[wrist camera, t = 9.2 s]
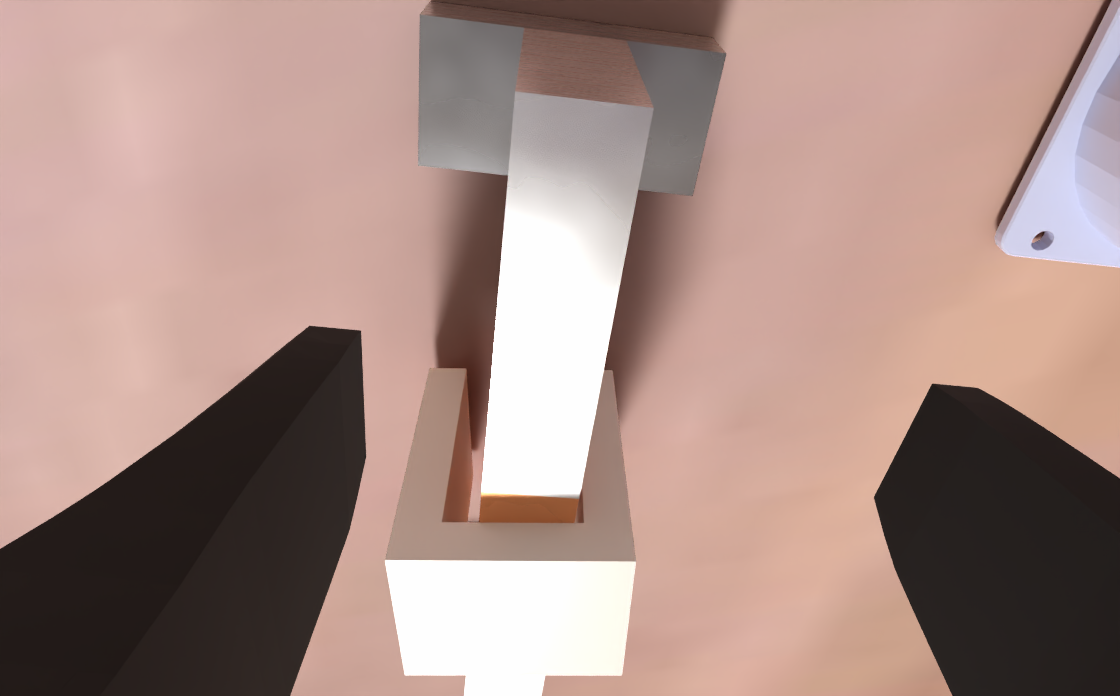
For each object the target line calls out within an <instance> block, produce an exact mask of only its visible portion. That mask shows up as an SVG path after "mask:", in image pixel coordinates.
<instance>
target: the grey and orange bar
mask: <svg viewBox="0 0 1120 696" xmlns="http://www.w3.org/2000/svg"><path fill="white" fill-rule="evenodd" d="M725 57H726V52H725V51H724V50H723V49H722V48H721V47H720V46H719V44H718V43H717V42H716V41H715V40H714V39H713V38H712V37H706V36H698V35H690V34H682V33H674V32H667V31H659V30H651V29H643V28H636V27H628V26H620V25H612V24H604V23H597V22H589V21H581V20H573V19H566V18H558V17H550V16H542V15H534V14H527V13H519V12H511V11H503V10H495V9H488V8H480V7H472V6H464V5H457V4H449V3H441V2H433V1H430V2H429V4H428V5H427V6H426V7H425V9H424V10H423V11H422V12H421V14H420V49H419V140H418V166H427V167H436V168H445V169H454V170H463V171H472V172H481V173H490V174H499V175H508V183H507V195H506V207H505V218H504V230H503V242H502V254H501V266H500V278H499V290H498V302H497V314H496V326H495V338H494V350H493V362H492V374H491V386H490V397H489V409H488V421H487V433H486V445H485V457H484V469H483V481H482V493H481V505H480V517H479V522H480V523H574V522H575V517H576V512H577V507H578V501H579V496H580V491H581V486H582V481H583V475H584V470H585V465H586V460H587V454H588V449H589V444H590V439H591V434H592V428H593V423H594V418H595V413H596V407H597V402H598V397H599V392H600V386H601V381H602V376H603V371H604V366H605V360H606V355H607V350H608V345H609V339H610V334H611V329H612V324H613V318H614V313H615V308H616V303H617V298H618V292H619V287H620V282H621V277H622V271H623V266H624V261H625V256H626V250H627V245H628V240H629V235H630V230H631V224H632V219H633V214H634V209H635V203H636V198H637V193H638V190H643V191H652V192H661V193H670V194H679V195H688V196H693V192H694V188H695V184H696V179H697V175H698V171H699V167H700V162H701V158H702V154H703V150H704V146H705V141H706V137H707V133H708V129H709V124H710V120H711V116H712V112H713V108H714V103H715V99H716V95H717V91H718V86H719V82H720V78H721V74H722V70H723V65H724V61H725ZM544 679H545V675H466V684H465V696H541V695H542V690H543V685H544Z"/></svg>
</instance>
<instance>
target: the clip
mask: <svg viewBox="0 0 1120 696" xmlns="http://www.w3.org/2000/svg"><path fill="white" fill-rule="evenodd" d="M472 480H473V466H472V450H471V434H470V418H469V402H468V386H467V370H466V369H463V368H430V369H429V373H428V377H427V382H426V386H425V390H424V395H423V399H422V403H421V407H420V412H419V416H418V420H417V425H416V429H415V433H414V438H413V442H412V446H411V450H410V455H409V459H408V463H407V468H406V472H405V476H404V481H403V485H402V489H401V493H400V498H399V502H398V506H397V511H396V515H395V519H394V524H393V528H392V532H391V537H390V541H389V545H388V549H387V554H386V558H385V563H386V569H387V575H388V581H389V587H390V592H391V598H392V604H393V610H394V615H395V621H396V627H397V633H398V639H399V644H400V650H401V656H402V662H403V667H404V673H405V675H589V676H622V671H623V663H624V655H625V647H626V638H627V630H628V622H629V614H630V606H631V598H632V590H633V582H634V573H635V565H636V558H635V550H634V541H633V533H632V525H631V517H630V509H629V500H628V492H627V484H626V476H625V467H624V459H623V451H622V443H621V435H620V426H619V418H618V410H617V402H616V393H615V385H614V377H613V370H604V371H603V376H602V381H601V386H600V392H599V397H598V402H597V407H596V413H595V418H594V423H593V428H592V434H591V439H590V444H589V449H588V454H587V460H586V465H585V470H584V475H583V481H582V486H581V491H580V496H579V501H578V507H577V512H576V517H575V522H574V523H480V522H467V520H468V512H469V504H470V496H471V488H472Z"/></svg>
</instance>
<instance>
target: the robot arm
mask: <svg viewBox="0 0 1120 696" xmlns="http://www.w3.org/2000/svg"><path fill="white" fill-rule="evenodd" d="M1042 231H1045V233H1044V235H1043V236H1042V238H1041V239H1040V240H1038V241H1036V242H1035V243H1032V239H1033V238H1034V237H1035V236H1036V235H1037V234H1039V233H1040V232H1042ZM995 242H996V245H997V246H998V247H999V248H1000V249H1001V250H1002V251H1004V252H1005V253H1006V254H1008V255H1011V256H1018V257H1027V258H1036V259H1045V260H1055V261H1064V262H1073V263H1082V264H1092V265H1101V266H1110V267H1119V268H1120V0H1112V1H1111V3H1110V5H1109V7H1108V9H1107V11H1106V13H1105V15H1104V17H1103V19H1102V21H1101V23H1100V25H1099V27H1098V29H1097V31H1096V33H1095V35H1094V37H1093V39H1092V41H1091V43H1090V45H1089V47H1088V49H1087V51H1086V53H1085V55H1084V57H1083V59H1082V61H1081V63H1080V65H1079V67H1078V69H1077V71H1076V73H1075V75H1074V77H1073V79H1072V81H1071V83H1070V85H1069V87H1068V89H1067V91H1066V93H1065V95H1064V97H1063V99H1062V101H1061V103H1060V105H1059V107H1058V109H1057V111H1056V113H1055V115H1054V117H1053V119H1052V121H1051V123H1050V125H1049V127H1048V129H1047V131H1046V133H1045V135H1044V137H1043V139H1042V141H1041V143H1040V145H1039V147H1038V149H1037V151H1036V153H1035V155H1034V157H1033V159H1032V161H1031V163H1030V165H1029V167H1028V169H1027V171H1026V173H1025V175H1024V177H1023V179H1022V181H1021V183H1020V185H1019V187H1018V189H1017V191H1016V193H1015V195H1014V197H1013V199H1012V201H1011V203H1010V205H1009V207H1008V209H1007V211H1006V213H1005V215H1004V217H1003V219H1002V221H1001V223H1000V225H999V227H998V229H997V231H996V234H995ZM365 459H366V443H365V419H364V394H363V369H362V344H361V331H359V330H348V329H337V328H327V327H316V326H309V327H308V328H306V329H305V330H304V331H303V332H301V333H300V334H299V335H297V336H296V337H295V338H294V339H292V340H291V341H290V342H289V343H287V344H286V345H285V346H284V347H282V348H281V349H280V350H279V351H278V352H276V353H275V354H274V355H273V356H272V357H270V358H269V359H268V360H267V361H265V362H264V363H263V364H262V365H261V366H259V367H258V368H257V369H256V370H255V371H253V372H252V373H251V374H250V375H249V376H247V377H246V378H245V379H244V380H242V381H241V382H240V383H239V384H238V385H236V386H235V387H234V388H233V389H231V390H230V391H229V392H228V393H226V394H225V395H224V396H223V397H221V398H220V399H219V400H218V401H216V402H215V403H214V404H212V405H211V406H210V407H209V408H207V409H206V410H205V411H204V412H202V413H201V414H200V415H198V416H197V417H196V418H195V419H193V420H192V421H191V422H190V423H188V424H187V425H186V426H184V427H183V428H182V429H181V430H179V431H178V432H177V433H175V434H174V435H173V436H171V437H170V438H168V439H167V440H166V441H164V442H163V443H161V444H160V445H159V446H157V447H156V448H154V449H153V450H152V451H150V452H149V453H147V454H146V455H145V456H143V457H142V458H140V459H139V460H138V461H136V462H135V463H133V464H132V465H131V466H129V467H128V468H126V469H125V470H124V471H122V472H121V473H119V474H118V475H117V476H115V477H114V478H112V479H111V480H110V481H108V482H107V483H105V484H104V485H102V486H101V487H99V488H98V489H96V490H95V491H93V492H92V493H90V494H89V495H87V496H86V497H84V498H82V499H81V500H79V501H78V502H76V503H75V504H73V505H71V506H70V507H68V508H67V509H65V510H64V511H62V512H61V513H59V514H57V515H56V516H54V517H53V518H51V519H49V520H48V521H46V522H44V523H43V524H41V525H39V526H38V527H36V528H34V529H33V530H31V531H29V532H28V533H26V534H24V535H23V536H21V537H19V538H18V539H16V540H14V541H13V542H11V543H9V544H8V545H6V546H4V547H3V548H1V549H0V696H290V694H291V692H292V689H293V686H294V683H295V681H296V678H297V675H298V672H299V669H300V667H301V664H302V661H303V658H304V656H305V653H306V650H307V647H308V645H309V642H310V639H311V636H312V633H313V631H314V628H315V625H316V622H317V620H318V617H319V614H320V611H321V609H322V606H323V603H324V600H325V597H326V595H327V592H328V589H329V586H330V584H331V581H332V578H333V575H334V572H335V570H336V567H337V564H338V561H339V558H340V555H341V553H342V550H343V547H344V544H345V541H346V538H347V535H348V533H349V530H350V526H351V521H352V517H353V513H354V509H355V504H356V500H357V496H358V491H359V487H360V482H361V478H362V473H363V468H364V464H365ZM874 499H875V503H876V507H877V510H878V514H879V518H880V521H881V525H882V529H883V532H884V536H885V539H886V542H887V546H888V549H889V552H890V555H891V558H892V561H893V564H894V567H895V570H896V572H897V575H898V577H899V579H900V582H901V584H902V586H903V589H904V591H905V593H906V595H907V597H908V600H909V602H910V604H911V606H912V609H913V611H914V613H915V615H916V618H917V620H918V622H919V624H920V626H921V629H922V631H923V633H924V635H925V637H926V639H927V642H928V644H929V646H930V648H931V650H932V652H933V655H934V657H935V659H936V661H937V663H938V665H939V667H940V670H941V672H942V674H943V676H944V678H945V680H946V683H947V685H948V687H949V689H950V691H951V693H952V696H1120V478H1118V477H1117V476H1115V475H1114V474H1112V473H1111V472H1109V471H1108V470H1106V469H1105V468H1103V467H1102V466H1100V465H1099V464H1097V463H1096V462H1094V461H1093V460H1091V459H1090V458H1089V457H1087V456H1086V455H1084V454H1083V453H1081V452H1080V451H1078V450H1077V449H1075V448H1074V447H1072V446H1071V445H1069V444H1068V443H1066V442H1065V441H1063V440H1062V439H1060V438H1059V437H1057V436H1056V435H1054V434H1053V433H1051V432H1050V431H1048V430H1047V429H1045V428H1044V427H1042V426H1041V425H1039V424H1037V423H1036V422H1034V421H1033V420H1031V419H1030V418H1028V417H1027V416H1025V415H1023V414H1022V413H1020V412H1019V411H1017V410H1015V409H1014V408H1012V407H1011V406H1009V405H1007V404H1006V403H1004V402H1002V401H1001V400H999V399H997V398H995V397H994V396H992V395H990V394H988V393H986V392H984V391H982V390H981V389H979V388H973V387H962V386H951V385H940V384H932V385H931V387H930V389H929V391H928V393H927V395H926V397H925V399H924V401H923V403H922V405H921V407H920V409H919V411H918V412H917V414H916V416H915V418H914V420H913V422H912V424H911V426H910V428H909V430H908V432H907V434H906V436H905V438H904V440H903V442H902V444H901V446H900V447H899V449H898V451H897V453H896V455H895V457H894V459H893V461H892V463H891V465H890V467H889V469H888V471H887V473H886V475H885V477H884V479H883V481H882V483H881V484H880V486H879V488H878V490H877V492H876V494H875V496H874Z"/></svg>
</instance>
